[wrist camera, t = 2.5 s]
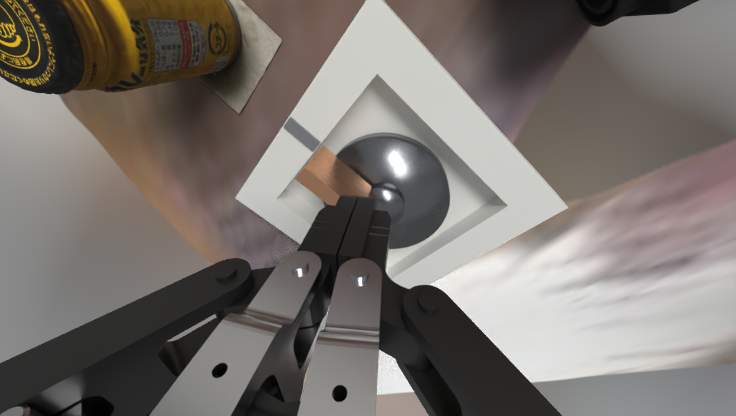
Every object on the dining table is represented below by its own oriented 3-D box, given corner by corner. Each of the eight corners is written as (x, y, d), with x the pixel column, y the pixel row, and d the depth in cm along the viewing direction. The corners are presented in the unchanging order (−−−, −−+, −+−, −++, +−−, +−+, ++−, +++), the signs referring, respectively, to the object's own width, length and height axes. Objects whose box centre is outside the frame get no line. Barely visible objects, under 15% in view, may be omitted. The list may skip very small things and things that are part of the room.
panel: (554, 191, 22) (569, 209, 20) (390, 289, 33) (388, 308, 30) (378, -6, 17) (372, -10, 15) (249, 185, 27) (233, 199, 25)
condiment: (176, -65, 17) (-151, -189, 7) (283, 40, 20) (142, 52, 10) (148, 34, 21) (-94, 40, 11) (241, 113, 23) (108, 174, 13)
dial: (476, 194, 23) (490, 239, 18) (388, 255, 28) (380, 303, 24) (368, 89, 20) (350, 109, 15) (293, 181, 25) (262, 219, 20)
